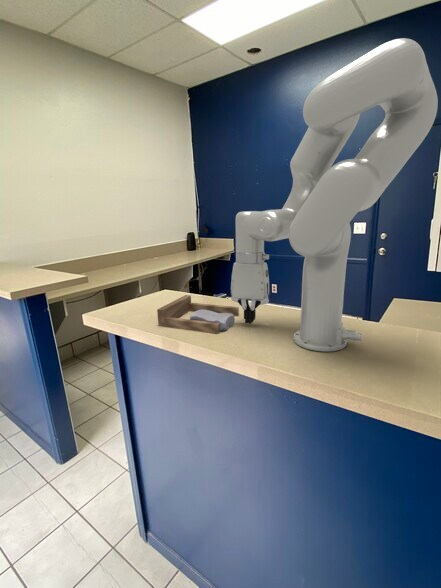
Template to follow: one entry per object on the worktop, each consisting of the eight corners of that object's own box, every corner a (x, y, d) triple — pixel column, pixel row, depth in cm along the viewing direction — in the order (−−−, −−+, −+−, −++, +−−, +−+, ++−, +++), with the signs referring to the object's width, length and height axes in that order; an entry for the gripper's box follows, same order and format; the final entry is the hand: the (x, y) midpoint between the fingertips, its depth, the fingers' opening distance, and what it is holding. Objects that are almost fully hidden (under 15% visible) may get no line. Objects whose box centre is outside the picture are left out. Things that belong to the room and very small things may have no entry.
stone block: (203, 322, 98) (186, 327, 89) (205, 307, 98) (187, 310, 89) (237, 329, 93) (223, 334, 84) (239, 313, 92) (224, 317, 83)
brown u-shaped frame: (238, 314, 99) (238, 299, 97) (217, 333, 84) (217, 316, 82) (186, 309, 106) (185, 295, 105) (158, 325, 91) (157, 309, 90)
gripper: (280, 257, 84) (278, 320, 89) (229, 255, 90) (229, 315, 95) (273, 261, 78) (272, 329, 82) (219, 259, 83) (220, 323, 88)
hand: (249, 321), depth 89 cm, fingers closed
